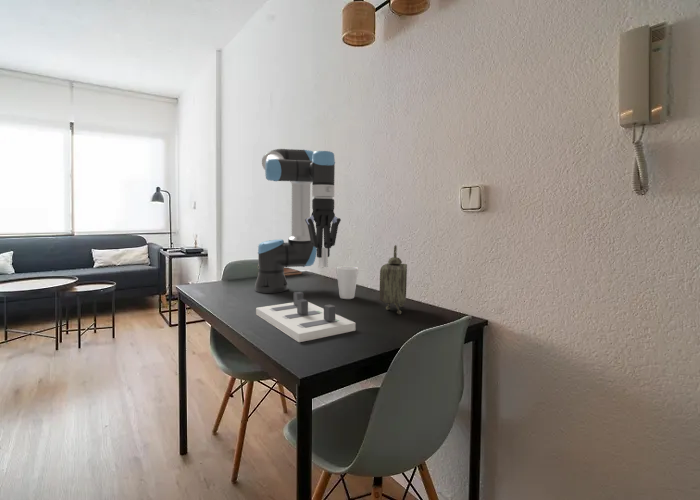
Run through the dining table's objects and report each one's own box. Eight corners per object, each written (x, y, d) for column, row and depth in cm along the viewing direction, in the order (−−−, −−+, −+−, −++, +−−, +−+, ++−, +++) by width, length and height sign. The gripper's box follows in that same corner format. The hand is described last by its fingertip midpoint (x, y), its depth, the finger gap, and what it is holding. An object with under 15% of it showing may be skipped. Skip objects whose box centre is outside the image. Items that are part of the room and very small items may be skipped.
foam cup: (350, 300, 160) (350, 270, 158) (332, 297, 165) (332, 268, 163) (361, 296, 168) (362, 267, 166) (343, 293, 173) (344, 265, 171)
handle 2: (323, 319, 123) (323, 305, 122) (330, 317, 124) (330, 304, 124) (328, 321, 121) (328, 307, 120) (335, 320, 122) (335, 306, 121)
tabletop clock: (403, 316, 138) (405, 247, 135) (378, 314, 140) (380, 246, 137) (405, 306, 152) (407, 243, 149) (383, 304, 154) (384, 243, 151)
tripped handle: (297, 312, 130) (297, 299, 129) (303, 311, 131) (303, 299, 131) (301, 315, 127) (301, 301, 127) (307, 313, 129) (307, 300, 128)
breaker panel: (256, 314, 138) (256, 307, 138) (305, 306, 149) (305, 300, 149) (298, 342, 110) (298, 333, 110) (355, 330, 121) (355, 322, 121)
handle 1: (293, 304, 141) (293, 292, 141) (299, 303, 142) (299, 291, 142) (297, 306, 139) (297, 294, 138) (303, 305, 140) (303, 293, 139)
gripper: (310, 197, 122) (310, 269, 125) (346, 198, 130) (345, 266, 133) (300, 197, 129) (300, 266, 131) (334, 198, 136) (334, 263, 139)
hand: (323, 266), depth 132 cm, fingers closed
